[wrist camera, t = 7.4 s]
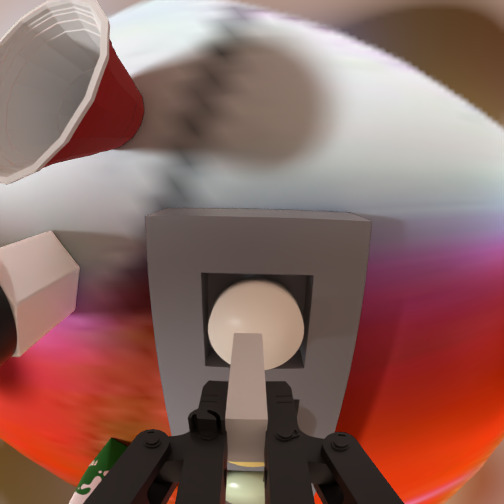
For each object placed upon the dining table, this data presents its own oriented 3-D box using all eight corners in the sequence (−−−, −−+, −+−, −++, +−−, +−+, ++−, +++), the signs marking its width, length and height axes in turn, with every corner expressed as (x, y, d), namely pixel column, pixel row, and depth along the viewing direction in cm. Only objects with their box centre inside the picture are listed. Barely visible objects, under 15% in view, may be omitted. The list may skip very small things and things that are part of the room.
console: (196, 480, 31) (191, 509, 26) (167, 208, 23) (145, 216, 18) (304, 482, 31) (307, 511, 26) (348, 212, 23) (371, 221, 18)
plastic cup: (154, 34, 20) (91, -43, 8) (193, 143, 22) (131, 112, 10) (52, 94, 21) (-41, 67, 9) (80, 198, 23) (-23, 219, 11)
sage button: (223, 492, 26) (222, 505, 24) (220, 464, 25) (219, 479, 23) (277, 493, 26) (277, 506, 24) (281, 466, 25) (282, 481, 23)
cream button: (213, 353, 21) (210, 369, 19) (211, 275, 20) (206, 285, 18) (296, 355, 21) (299, 370, 19) (303, 277, 20) (308, 288, 18)
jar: (23, 217, 23) (-69, 244, 12) (86, 244, 24) (-10, 290, 12) (18, 297, 25) (-56, 346, 14) (76, 328, 26) (5, 398, 14)
